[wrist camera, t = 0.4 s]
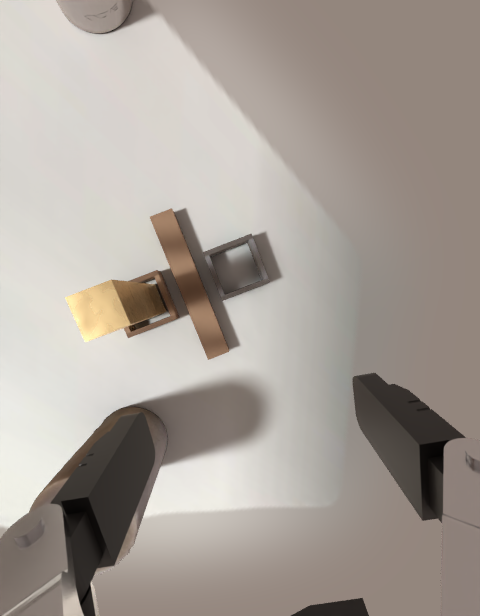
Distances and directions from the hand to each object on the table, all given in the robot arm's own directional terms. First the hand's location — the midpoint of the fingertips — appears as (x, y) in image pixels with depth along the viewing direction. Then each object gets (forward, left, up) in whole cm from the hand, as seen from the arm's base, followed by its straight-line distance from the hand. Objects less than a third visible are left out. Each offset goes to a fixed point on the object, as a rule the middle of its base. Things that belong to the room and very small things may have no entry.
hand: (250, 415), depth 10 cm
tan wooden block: (-7, -10, -27) cm, 29 cm away
